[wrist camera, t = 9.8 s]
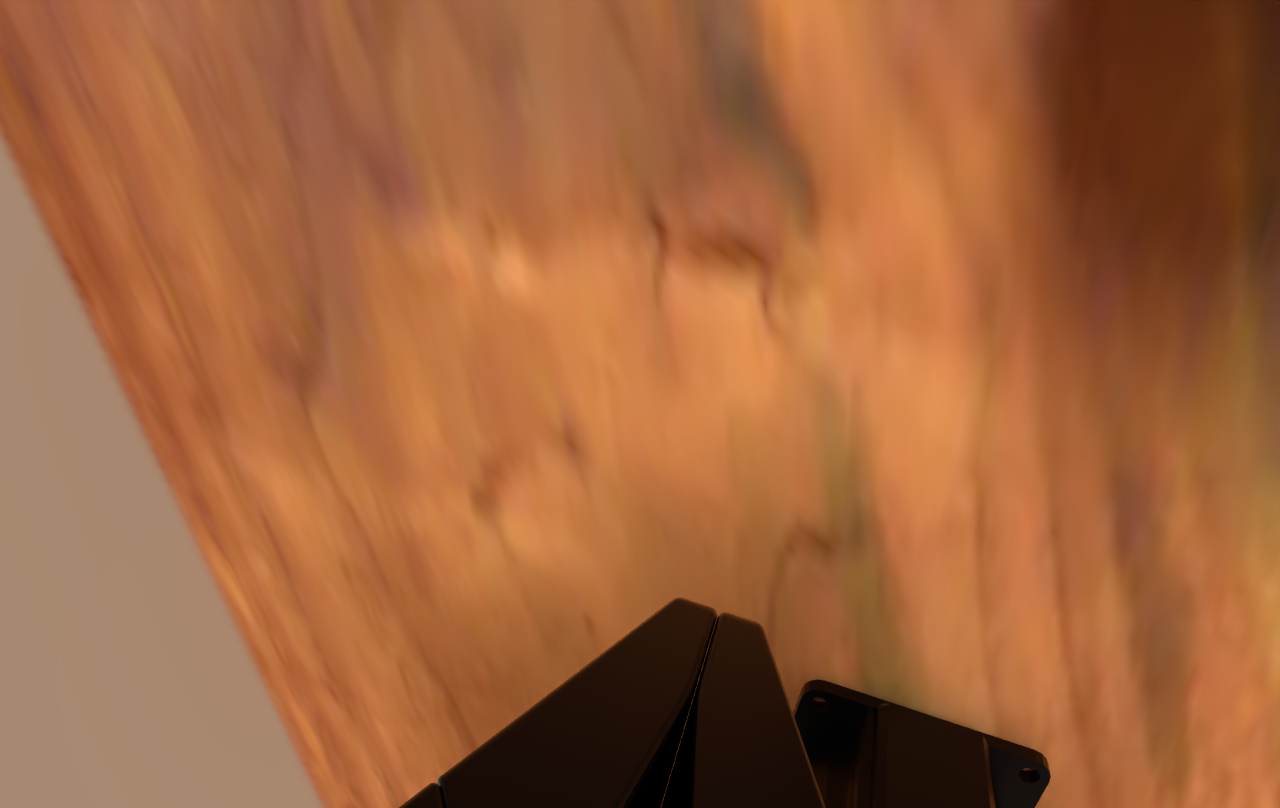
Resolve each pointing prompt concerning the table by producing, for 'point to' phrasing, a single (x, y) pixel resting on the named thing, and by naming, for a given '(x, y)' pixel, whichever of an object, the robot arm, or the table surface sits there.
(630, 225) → the table surface
